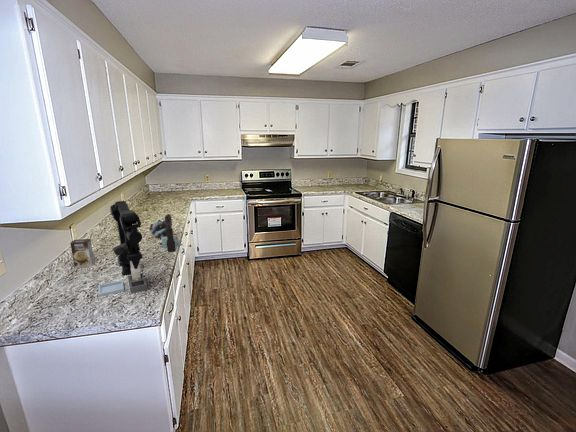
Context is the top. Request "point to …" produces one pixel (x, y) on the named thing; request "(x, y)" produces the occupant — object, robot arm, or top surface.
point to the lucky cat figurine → (158, 229)
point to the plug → (134, 268)
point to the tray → (110, 288)
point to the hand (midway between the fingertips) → (135, 267)
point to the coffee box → (82, 253)
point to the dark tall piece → (169, 236)
